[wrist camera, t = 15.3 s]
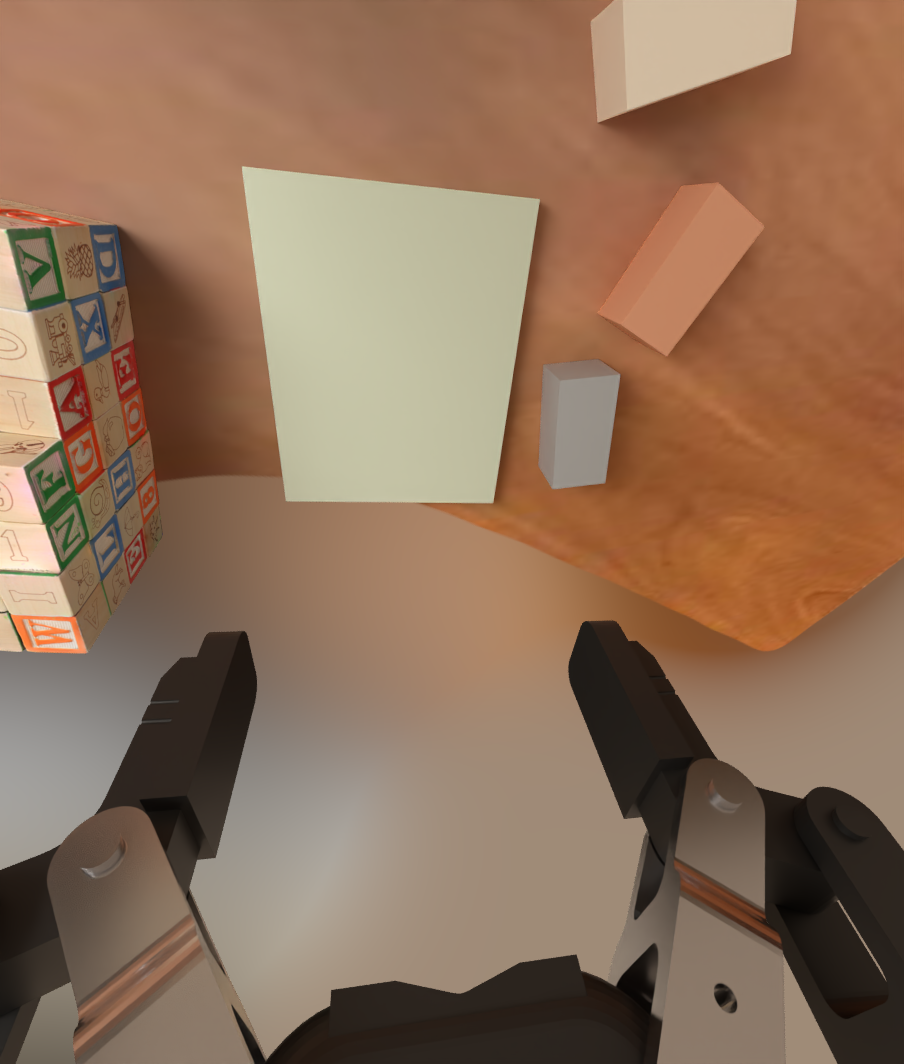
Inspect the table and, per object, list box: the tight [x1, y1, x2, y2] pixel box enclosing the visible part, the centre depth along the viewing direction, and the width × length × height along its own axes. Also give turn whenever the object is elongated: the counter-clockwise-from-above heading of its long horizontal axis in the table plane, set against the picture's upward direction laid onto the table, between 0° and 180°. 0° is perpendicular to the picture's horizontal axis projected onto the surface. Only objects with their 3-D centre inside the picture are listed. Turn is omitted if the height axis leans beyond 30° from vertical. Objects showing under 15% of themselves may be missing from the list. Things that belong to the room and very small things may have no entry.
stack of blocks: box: [0, 199, 163, 653], centre depth 26 cm, size 21×6×12 cm, turn 168°
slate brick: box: [539, 359, 620, 489], centre depth 34 cm, size 8×4×4 cm, turn 4°
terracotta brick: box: [598, 183, 765, 356], centre depth 29 cm, size 8×4×4 cm, turn 150°
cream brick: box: [591, 0, 797, 122], centre depth 23 cm, size 8×4×4 cm, turn 106°
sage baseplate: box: [242, 166, 540, 503], centre depth 31 cm, size 20×16×1 cm
